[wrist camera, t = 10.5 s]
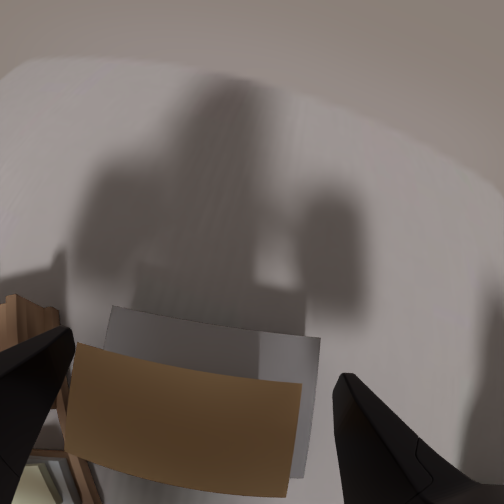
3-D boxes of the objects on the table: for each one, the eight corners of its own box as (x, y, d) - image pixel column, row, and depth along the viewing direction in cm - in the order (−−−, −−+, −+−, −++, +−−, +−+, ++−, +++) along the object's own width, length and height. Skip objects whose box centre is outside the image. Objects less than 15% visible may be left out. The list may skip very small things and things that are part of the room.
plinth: (290, 462, 14) (303, 478, 11) (112, 433, 13) (91, 442, 11) (304, 344, 17) (320, 337, 14) (130, 317, 16) (112, 305, 13)
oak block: (251, 431, 12) (285, 497, 4) (149, 414, 12) (64, 451, 4) (258, 379, 13) (302, 383, 5) (156, 362, 13) (77, 342, 5)
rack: (104, 508, 11) (78, 533, 8) (10, 495, 10) (-23, 507, 6) (58, 310, 16) (24, 292, 12) (-24, 324, 14) (-59, 310, 11)
